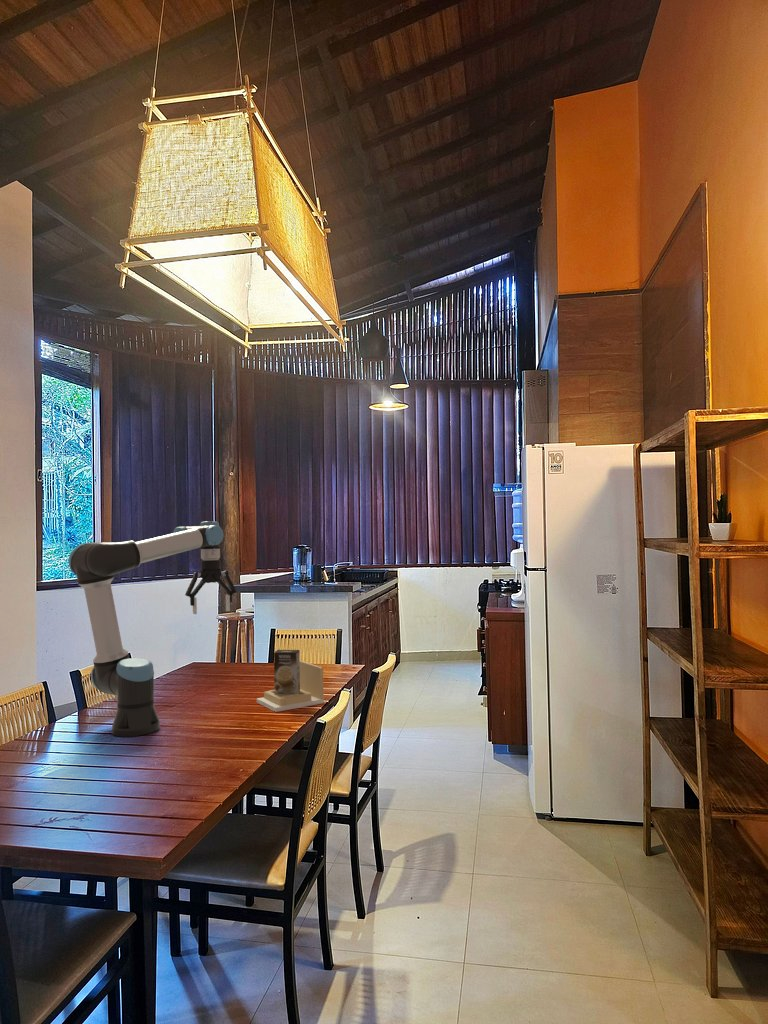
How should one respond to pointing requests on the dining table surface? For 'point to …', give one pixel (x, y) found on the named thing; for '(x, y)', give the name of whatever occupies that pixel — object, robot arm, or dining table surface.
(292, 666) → the coffee box
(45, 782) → the dining table surface
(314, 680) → the display stand
